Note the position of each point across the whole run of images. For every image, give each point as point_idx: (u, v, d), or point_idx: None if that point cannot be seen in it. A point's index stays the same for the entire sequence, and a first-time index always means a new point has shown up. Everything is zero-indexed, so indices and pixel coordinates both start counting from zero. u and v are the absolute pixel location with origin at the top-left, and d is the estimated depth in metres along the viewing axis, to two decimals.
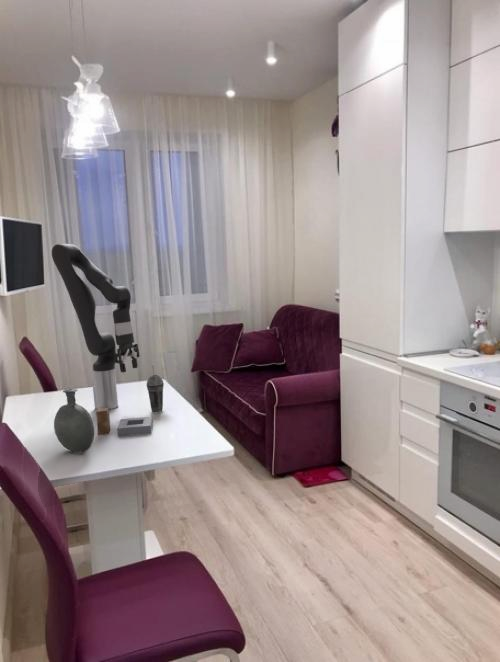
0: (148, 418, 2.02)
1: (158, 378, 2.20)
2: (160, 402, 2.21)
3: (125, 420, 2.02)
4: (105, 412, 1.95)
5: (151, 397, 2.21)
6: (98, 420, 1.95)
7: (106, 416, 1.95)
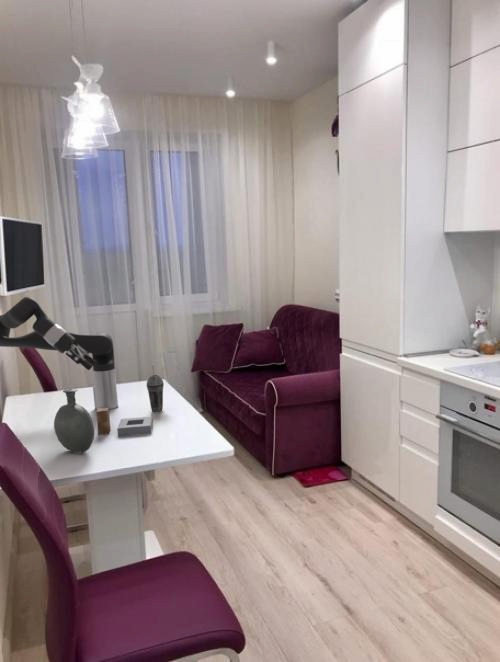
0: (148, 418, 2.02)
1: (158, 378, 2.20)
2: (160, 402, 2.21)
3: (125, 420, 2.02)
4: (105, 412, 1.95)
5: (151, 397, 2.21)
6: (98, 420, 1.95)
7: (106, 416, 1.95)
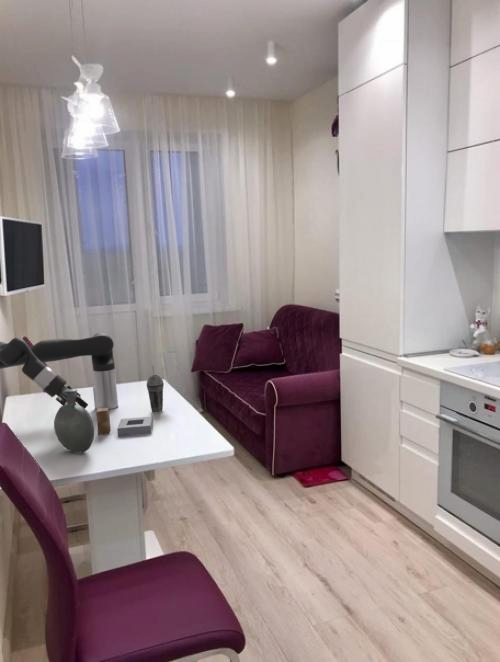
0: (148, 418, 2.02)
1: (158, 378, 2.20)
2: (160, 402, 2.21)
3: (125, 420, 2.02)
4: (105, 412, 1.95)
5: (151, 397, 2.21)
6: (98, 420, 1.95)
7: (106, 416, 1.95)
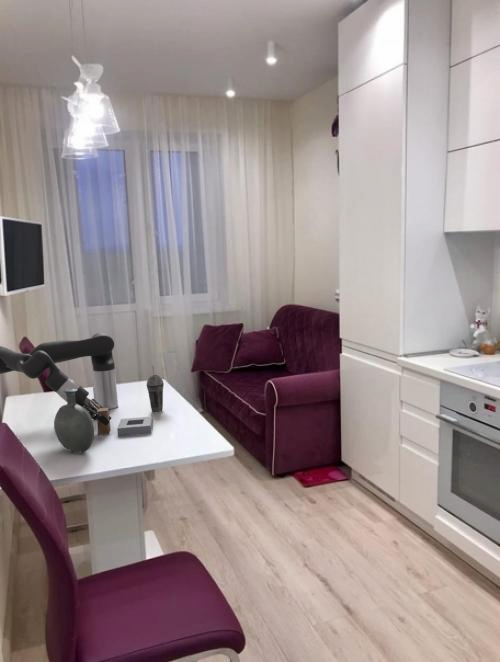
0: (148, 418, 2.02)
1: (158, 378, 2.20)
2: (160, 402, 2.21)
3: (125, 420, 2.02)
4: (105, 412, 1.95)
5: (151, 397, 2.21)
6: (98, 420, 1.95)
7: (106, 416, 1.95)
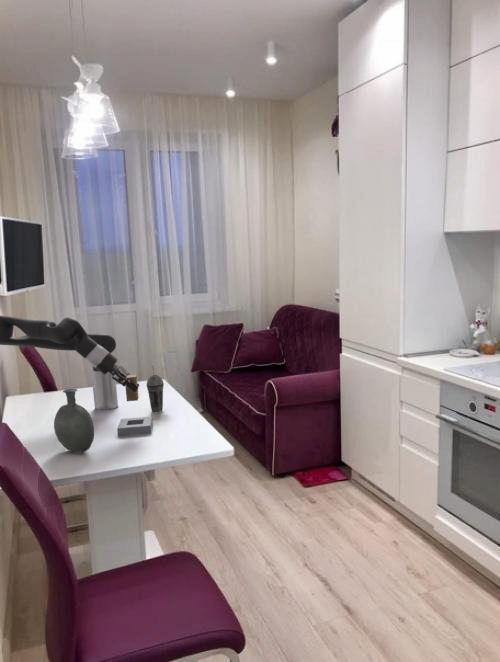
0: (148, 418, 2.02)
1: (158, 378, 2.20)
2: (160, 402, 2.21)
3: (125, 420, 2.02)
4: (134, 379, 1.95)
5: (151, 397, 2.21)
6: None
7: (135, 382, 1.95)
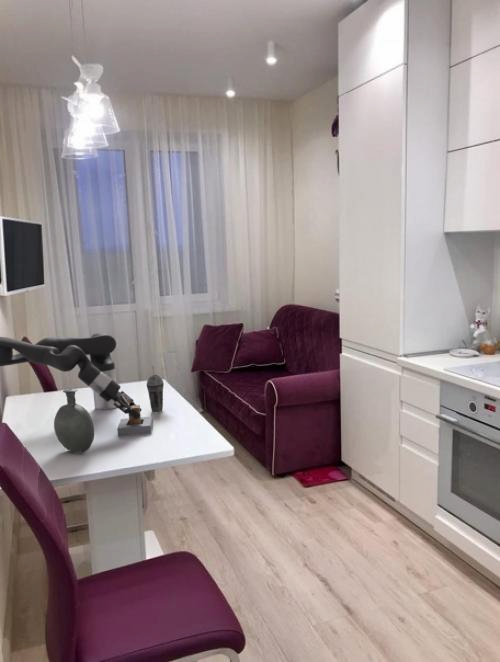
0: (148, 418, 2.02)
1: (158, 378, 2.20)
2: (160, 402, 2.21)
3: (125, 420, 2.02)
4: (137, 409, 1.97)
5: (151, 397, 2.21)
6: (130, 417, 1.97)
7: None
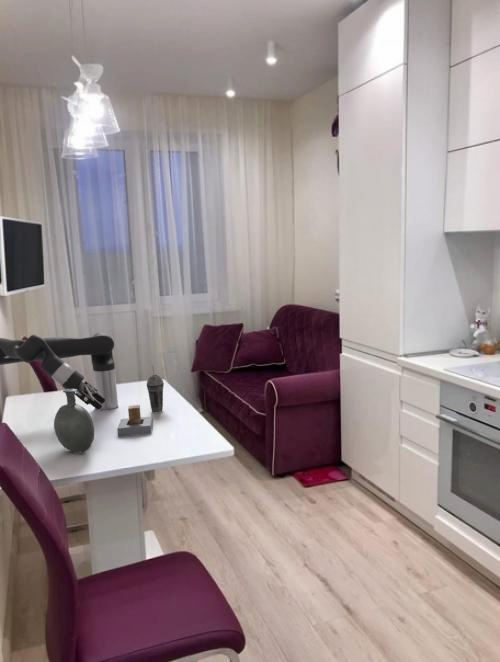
0: (148, 418, 2.02)
1: (158, 378, 2.20)
2: (160, 402, 2.21)
3: (125, 420, 2.02)
4: (137, 409, 1.97)
5: (151, 397, 2.21)
6: (130, 417, 1.97)
7: (138, 413, 1.97)
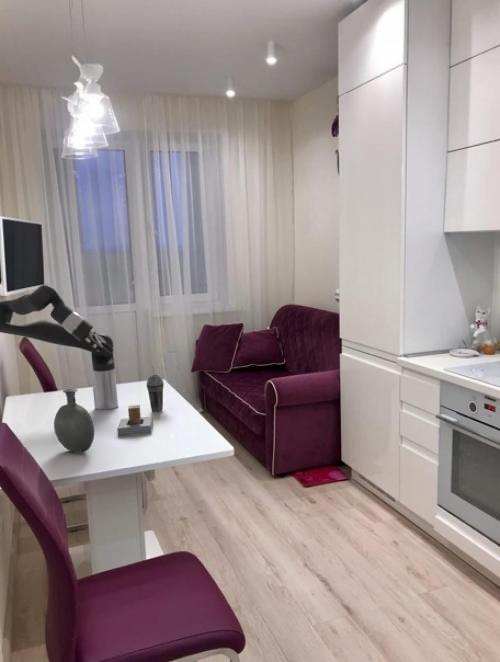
0: (148, 418, 2.02)
1: (158, 378, 2.20)
2: (160, 402, 2.21)
3: (125, 420, 2.02)
4: (137, 409, 1.97)
5: (151, 397, 2.21)
6: (130, 417, 1.97)
7: (138, 413, 1.97)
